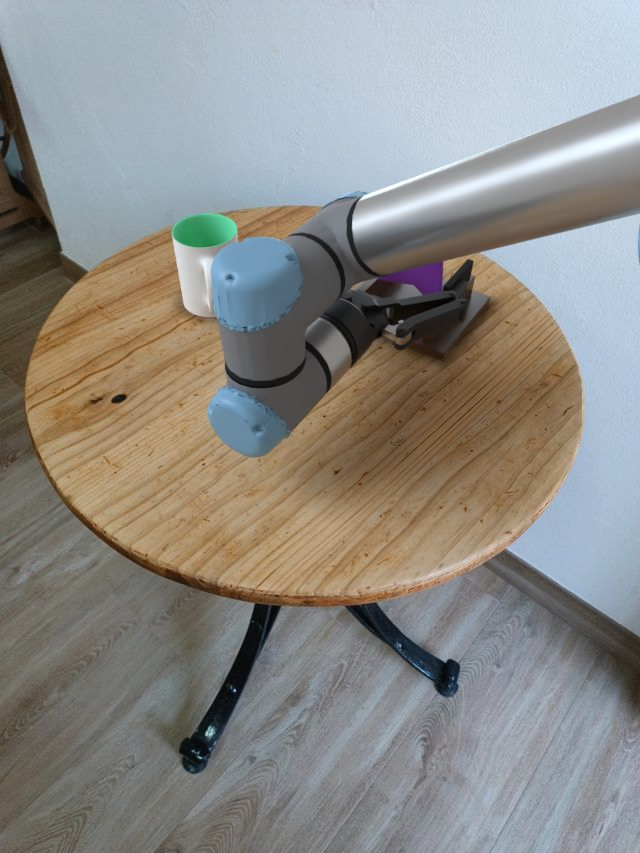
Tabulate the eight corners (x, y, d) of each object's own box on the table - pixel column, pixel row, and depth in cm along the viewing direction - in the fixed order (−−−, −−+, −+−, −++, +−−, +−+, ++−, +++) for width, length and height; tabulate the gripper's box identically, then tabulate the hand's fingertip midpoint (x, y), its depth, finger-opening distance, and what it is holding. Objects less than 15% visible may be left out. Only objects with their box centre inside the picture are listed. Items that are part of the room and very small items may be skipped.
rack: (489, 303, 92) (495, 277, 89) (442, 361, 84) (447, 334, 81) (385, 266, 98) (387, 240, 95) (332, 316, 90) (333, 289, 87)
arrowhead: (394, 316, 93) (366, 255, 87) (397, 308, 94) (369, 247, 88) (465, 306, 87) (440, 240, 81) (468, 298, 88) (443, 232, 82)
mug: (254, 330, 88) (249, 260, 81) (192, 340, 87) (180, 270, 79) (237, 277, 96) (230, 209, 89) (179, 286, 95) (167, 218, 87)
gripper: (234, 330, 80) (332, 247, 92) (425, 416, 71) (507, 311, 83) (228, 276, 74) (333, 195, 87) (435, 361, 65) (520, 257, 77)
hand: (418, 251), depth 85 cm, fingers open, 13 cm apart
